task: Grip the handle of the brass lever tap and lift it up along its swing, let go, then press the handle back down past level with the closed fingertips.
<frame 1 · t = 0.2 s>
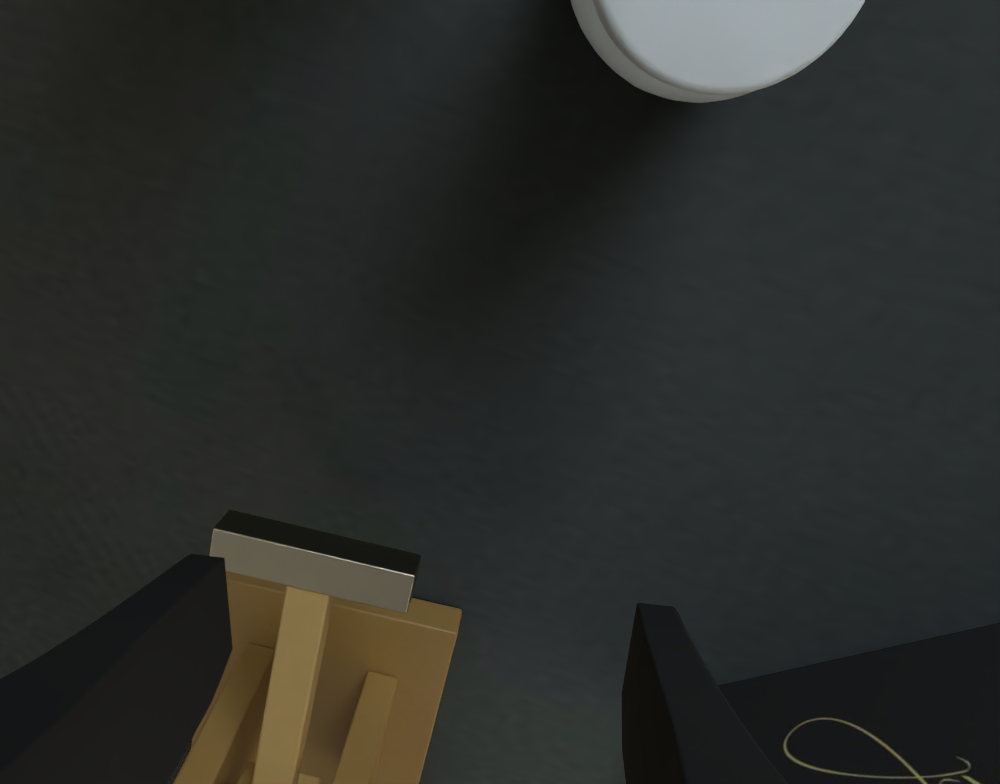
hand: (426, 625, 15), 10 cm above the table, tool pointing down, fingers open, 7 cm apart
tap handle: (286, 721, 22), point 5 cm above the table, hinge at -8.0°
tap: (324, 681, 29), on the table
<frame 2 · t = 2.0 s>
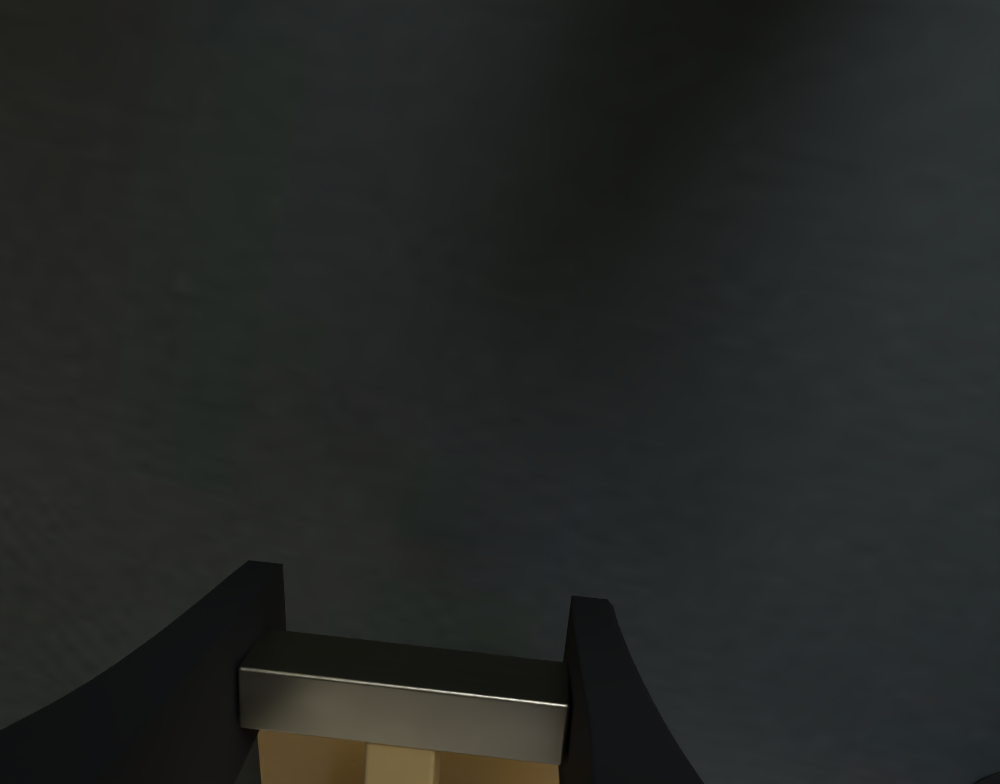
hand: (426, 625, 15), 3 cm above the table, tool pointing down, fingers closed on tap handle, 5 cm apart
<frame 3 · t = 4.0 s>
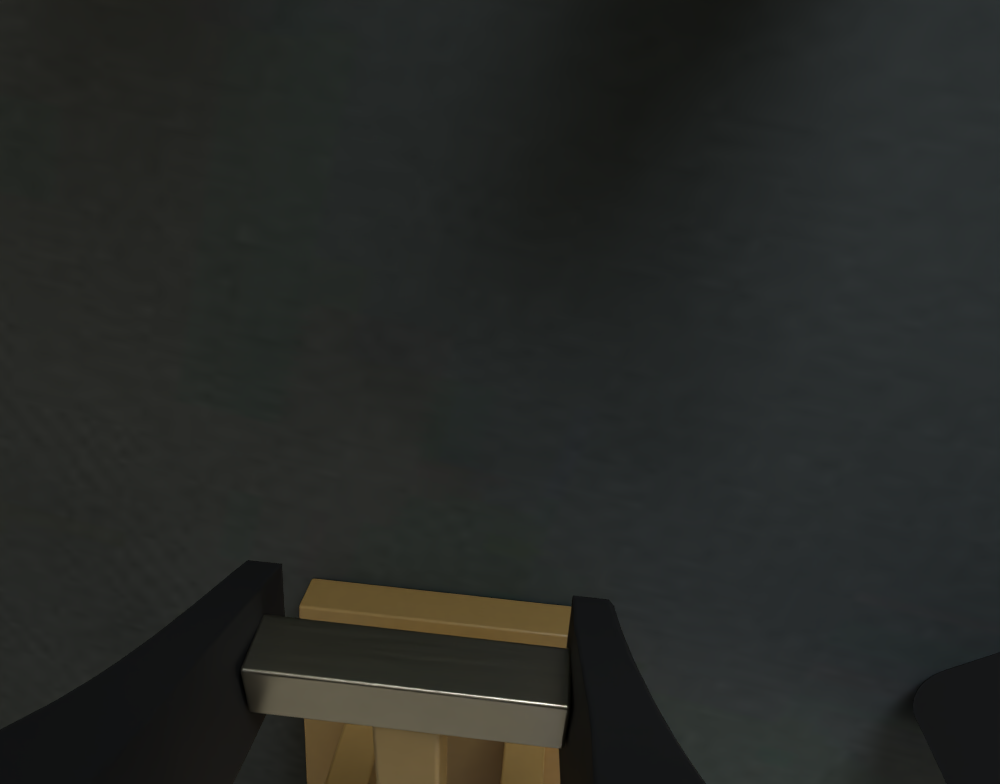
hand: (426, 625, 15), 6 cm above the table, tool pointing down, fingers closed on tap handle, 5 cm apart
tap: (454, 720, 24), on the table
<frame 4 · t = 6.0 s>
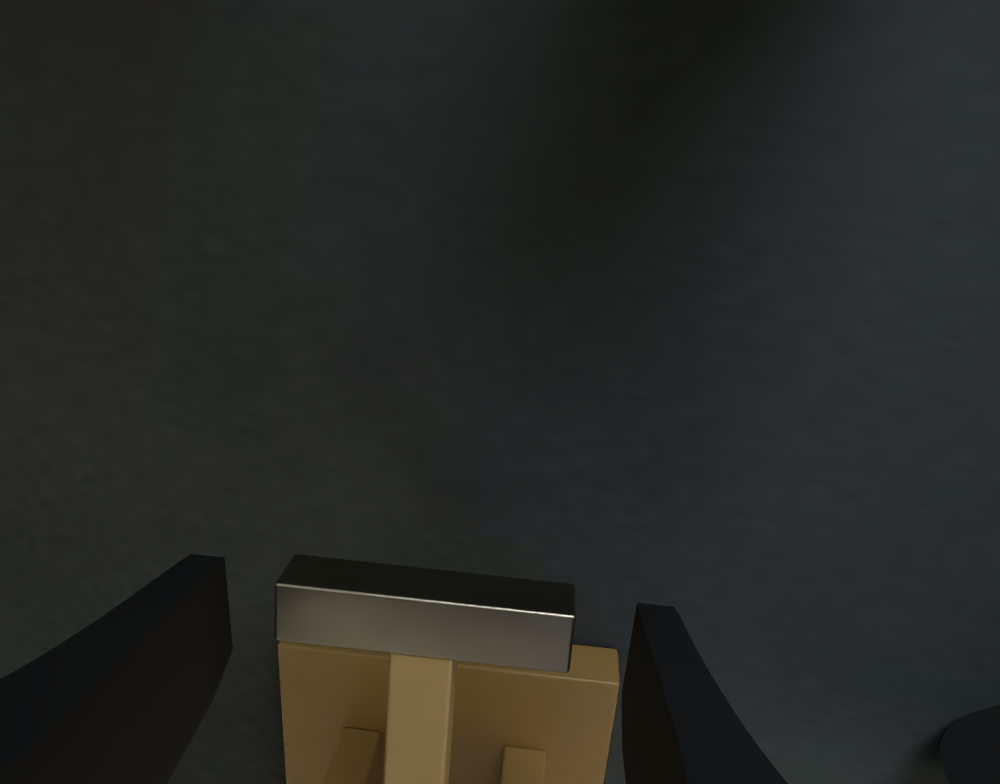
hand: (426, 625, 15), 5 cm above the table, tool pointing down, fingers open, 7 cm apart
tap: (446, 761, 22), on the table
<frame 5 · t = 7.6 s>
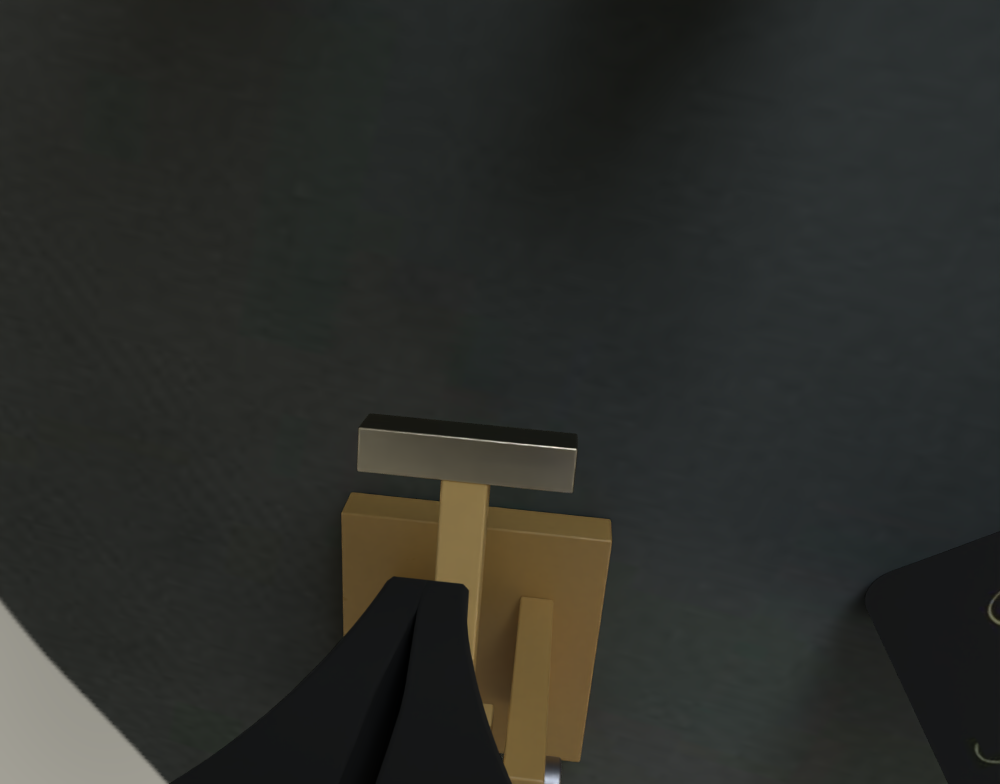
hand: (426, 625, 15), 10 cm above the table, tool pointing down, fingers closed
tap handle: (455, 637, 21), point 5 cm above the table, hinge at -8.9°
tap: (472, 620, 28), on the table
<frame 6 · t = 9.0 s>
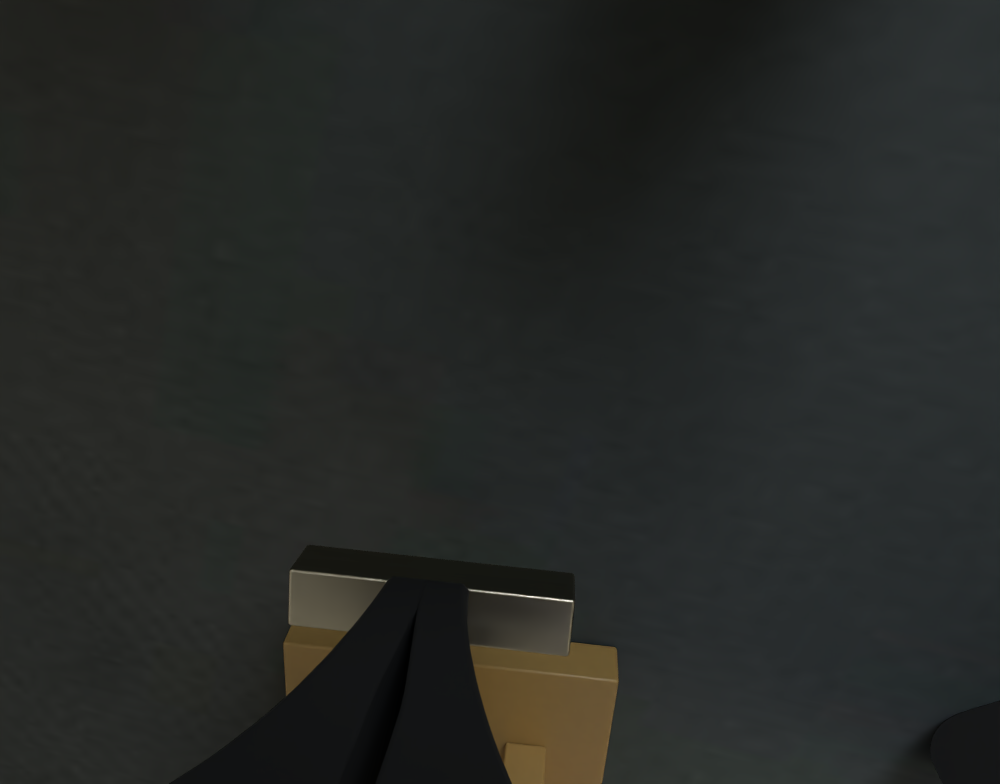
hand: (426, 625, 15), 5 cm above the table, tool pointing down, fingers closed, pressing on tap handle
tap: (448, 758, 23), on the table
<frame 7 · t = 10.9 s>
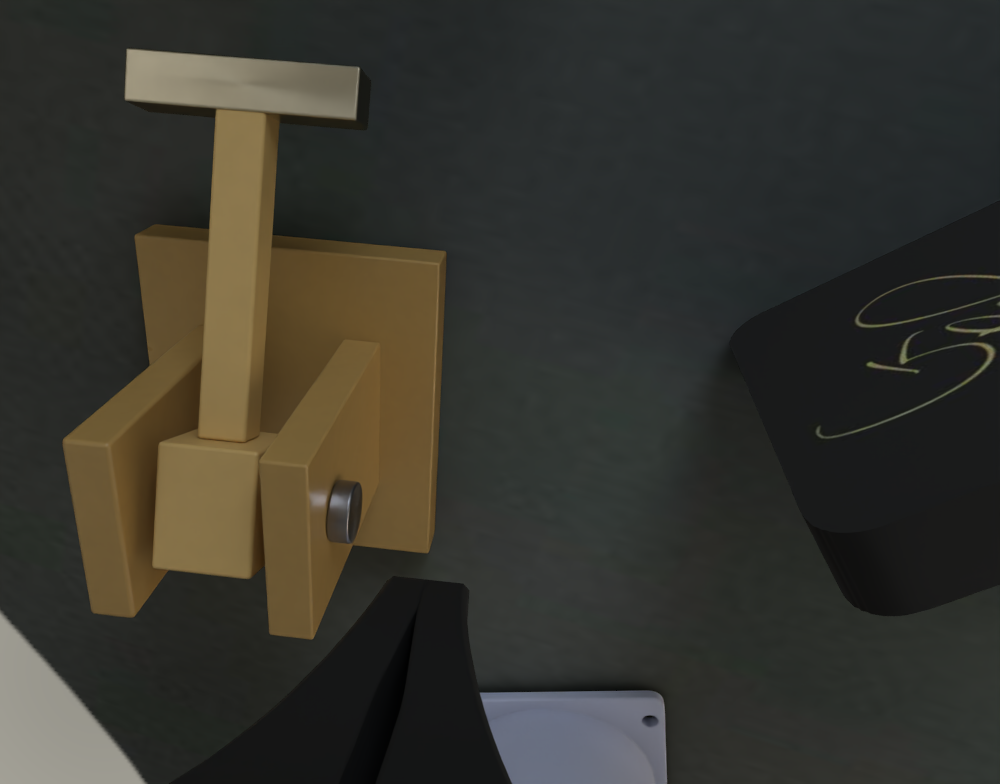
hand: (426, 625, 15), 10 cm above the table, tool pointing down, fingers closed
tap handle: (236, 319, 19), point 5 cm above the table, hinge at -18.9°
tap: (304, 388, 24), on the table
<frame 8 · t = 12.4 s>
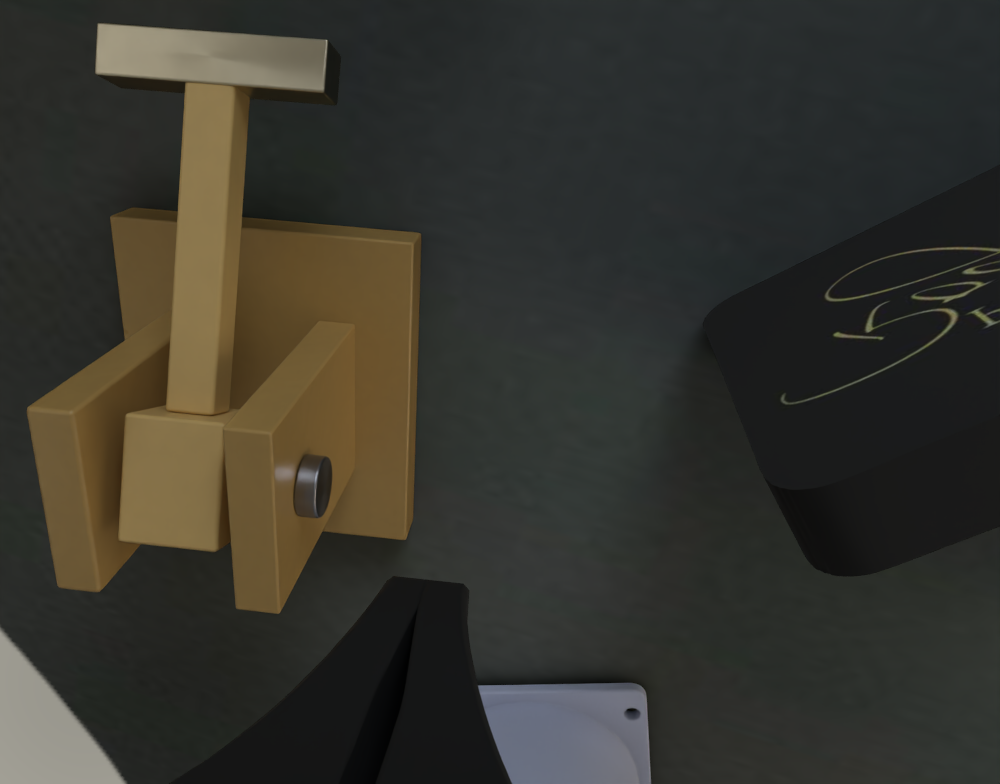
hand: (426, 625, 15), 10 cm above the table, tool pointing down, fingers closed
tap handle: (205, 292, 19), point 5 cm above the table, hinge at -18.9°
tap: (281, 373, 24), on the table
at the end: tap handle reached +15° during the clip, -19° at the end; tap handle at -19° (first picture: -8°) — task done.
